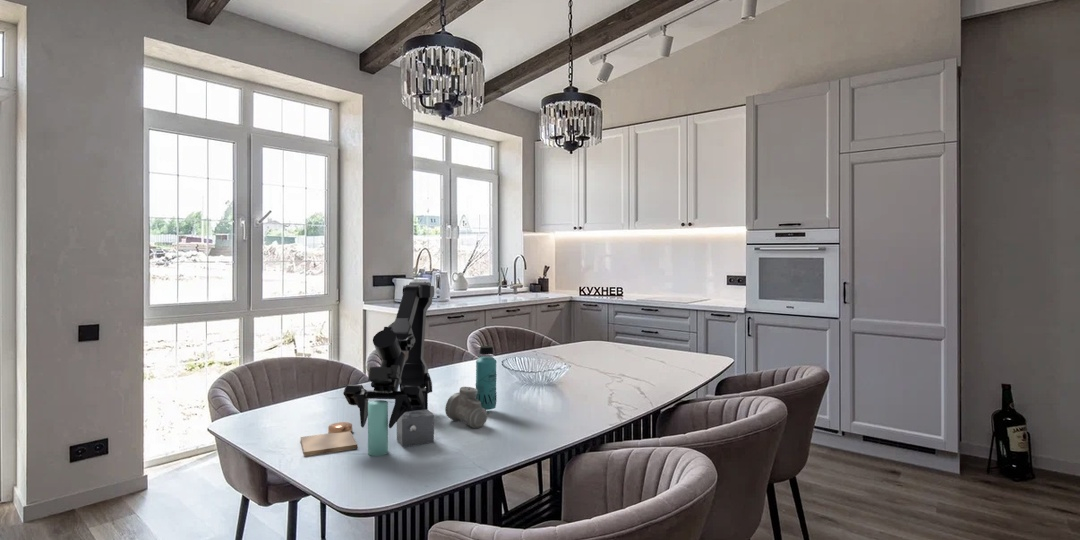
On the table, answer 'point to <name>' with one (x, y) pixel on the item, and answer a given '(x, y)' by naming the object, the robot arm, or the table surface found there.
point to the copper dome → (340, 427)
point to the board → (328, 443)
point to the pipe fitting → (466, 408)
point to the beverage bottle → (486, 379)
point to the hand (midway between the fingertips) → (375, 426)
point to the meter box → (415, 428)
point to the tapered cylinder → (377, 428)
